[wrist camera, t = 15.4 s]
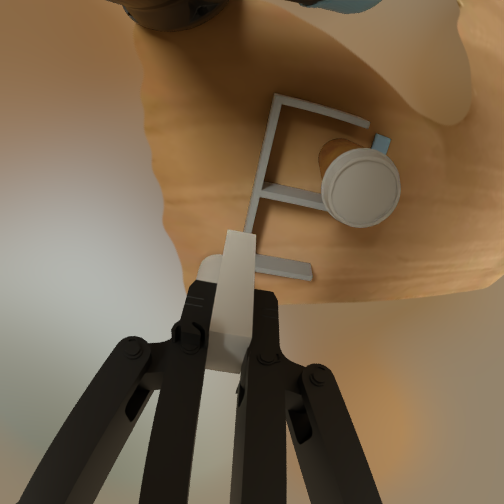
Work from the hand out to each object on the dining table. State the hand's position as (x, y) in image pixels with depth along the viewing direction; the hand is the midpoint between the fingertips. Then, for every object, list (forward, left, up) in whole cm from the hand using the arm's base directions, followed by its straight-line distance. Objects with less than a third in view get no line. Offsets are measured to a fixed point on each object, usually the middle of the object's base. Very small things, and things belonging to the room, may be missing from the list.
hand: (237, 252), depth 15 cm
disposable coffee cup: (0, +13, -27) cm, 29 cm away
